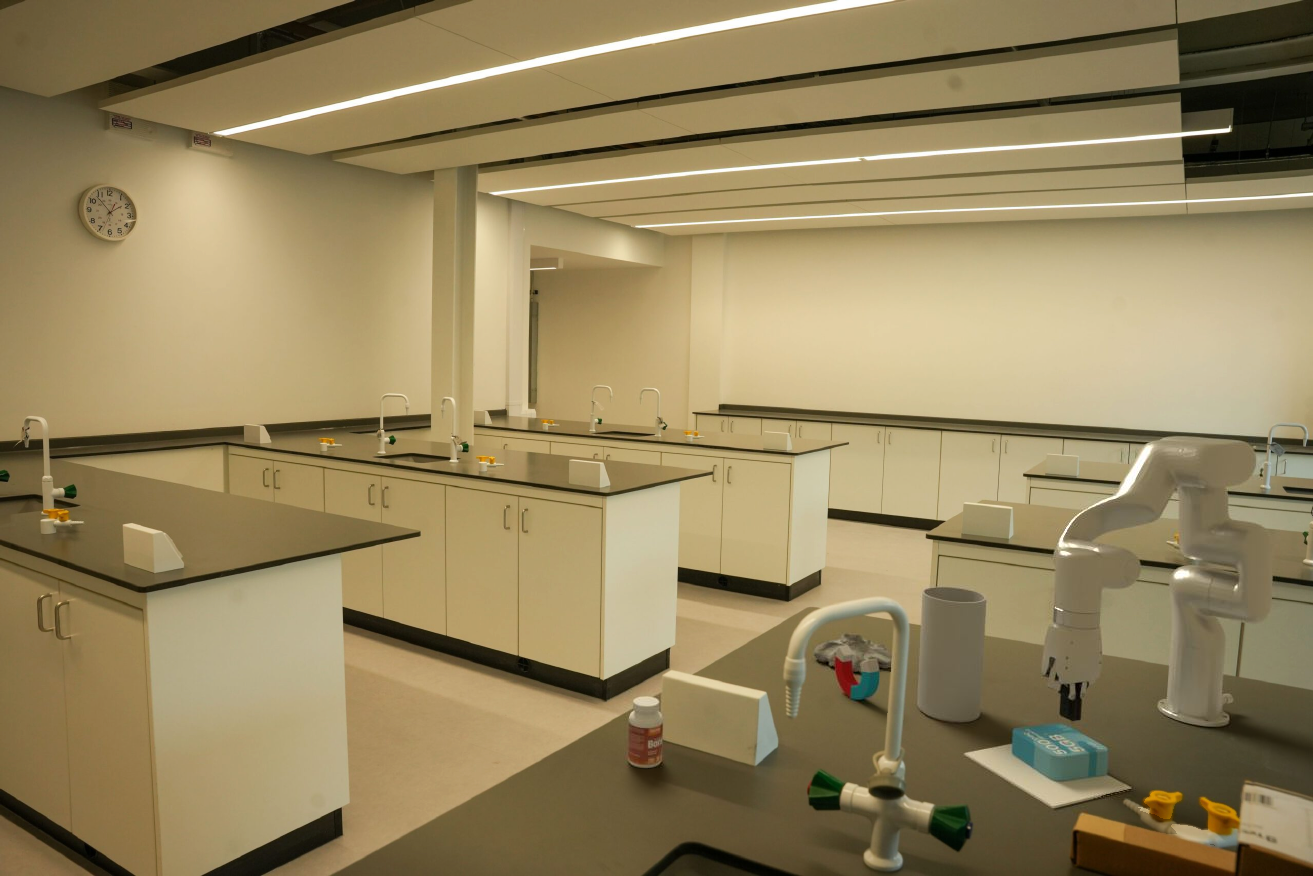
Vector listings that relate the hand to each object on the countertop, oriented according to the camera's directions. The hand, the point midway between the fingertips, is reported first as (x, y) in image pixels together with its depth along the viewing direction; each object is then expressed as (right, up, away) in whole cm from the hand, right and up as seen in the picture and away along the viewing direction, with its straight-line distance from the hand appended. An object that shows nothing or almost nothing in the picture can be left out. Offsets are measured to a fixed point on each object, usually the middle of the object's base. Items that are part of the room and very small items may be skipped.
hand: (1069, 717), depth 148 cm
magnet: (-31, -6, +31) cm, 44 cm away
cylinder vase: (-13, -7, +24) cm, 29 cm away
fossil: (-25, -5, +54) cm, 59 cm away
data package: (+4, -6, +3) cm, 8 cm away
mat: (-5, -9, -1) cm, 11 cm away
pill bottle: (-77, -8, 0) cm, 77 cm away
